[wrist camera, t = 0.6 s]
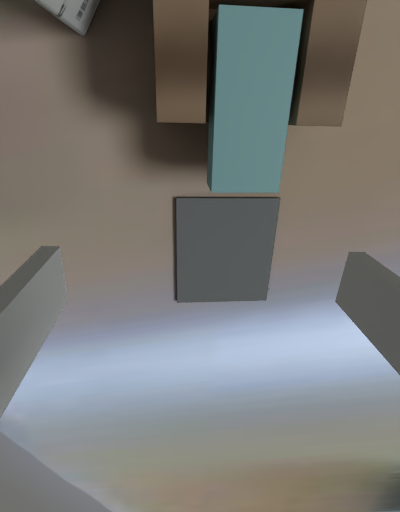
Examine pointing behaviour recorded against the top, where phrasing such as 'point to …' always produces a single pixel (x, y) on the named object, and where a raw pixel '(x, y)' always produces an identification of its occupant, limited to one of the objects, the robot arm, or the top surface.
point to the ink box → (72, 12)
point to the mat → (224, 247)
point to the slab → (250, 96)
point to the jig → (307, 66)
